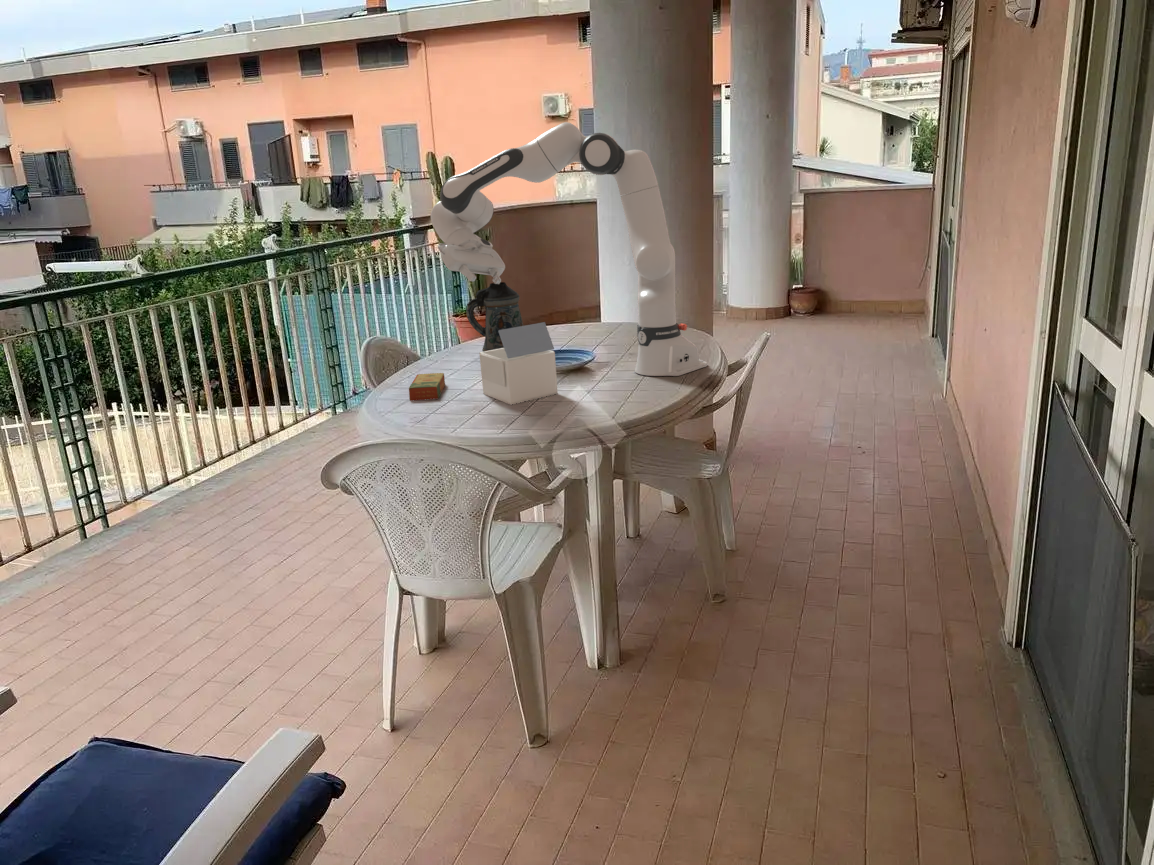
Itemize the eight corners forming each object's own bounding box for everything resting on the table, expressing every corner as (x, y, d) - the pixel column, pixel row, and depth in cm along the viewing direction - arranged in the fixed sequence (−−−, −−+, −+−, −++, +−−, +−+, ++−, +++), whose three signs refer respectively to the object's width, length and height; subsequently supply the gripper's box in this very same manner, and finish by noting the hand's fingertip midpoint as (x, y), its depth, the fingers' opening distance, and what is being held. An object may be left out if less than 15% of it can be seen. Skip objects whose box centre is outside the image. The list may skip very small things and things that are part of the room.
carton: (445, 385, 248) (444, 372, 247) (438, 400, 233) (437, 385, 232) (418, 387, 248) (416, 373, 247) (409, 401, 233) (407, 387, 232)
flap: (544, 322, 227) (544, 322, 227) (553, 349, 226) (554, 348, 226) (498, 330, 220) (498, 330, 219) (507, 358, 219) (508, 357, 218)
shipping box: (529, 383, 244) (526, 343, 240) (559, 393, 230) (556, 351, 227) (480, 393, 235) (476, 352, 232) (508, 405, 222) (504, 361, 218)
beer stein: (541, 356, 277) (535, 281, 270) (492, 366, 267) (484, 289, 259) (514, 349, 290) (508, 278, 282) (466, 359, 279) (458, 285, 272)
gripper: (440, 234, 227) (463, 269, 222) (495, 243, 243) (517, 275, 237) (430, 251, 231) (452, 286, 225) (484, 258, 246) (506, 291, 241)
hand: (486, 281), depth 232 cm, fingers open, 8 cm apart
